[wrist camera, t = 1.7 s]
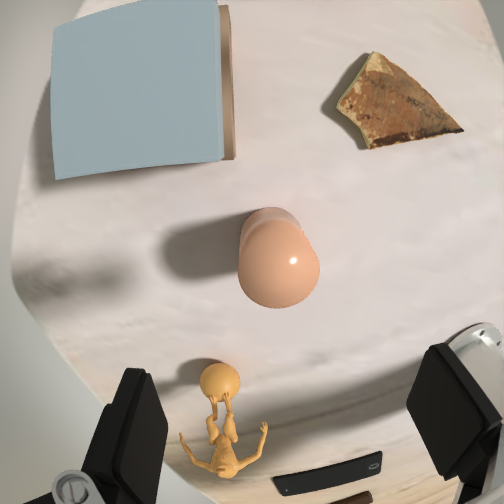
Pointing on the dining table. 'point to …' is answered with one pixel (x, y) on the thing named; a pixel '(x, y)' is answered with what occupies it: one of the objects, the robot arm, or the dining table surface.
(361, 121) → the shard
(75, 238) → the dining table surface
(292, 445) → the dining table surface
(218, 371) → the figurine
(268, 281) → the terracotta cylinder
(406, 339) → the dining table surface
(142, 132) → the top block
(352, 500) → the pan flute
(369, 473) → the cell phone
